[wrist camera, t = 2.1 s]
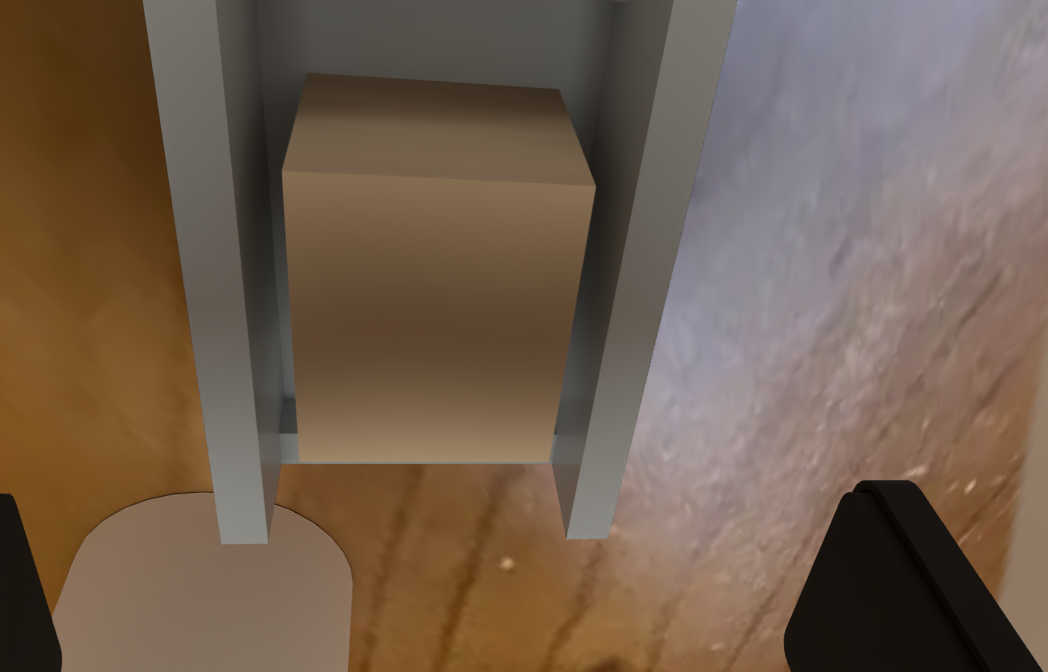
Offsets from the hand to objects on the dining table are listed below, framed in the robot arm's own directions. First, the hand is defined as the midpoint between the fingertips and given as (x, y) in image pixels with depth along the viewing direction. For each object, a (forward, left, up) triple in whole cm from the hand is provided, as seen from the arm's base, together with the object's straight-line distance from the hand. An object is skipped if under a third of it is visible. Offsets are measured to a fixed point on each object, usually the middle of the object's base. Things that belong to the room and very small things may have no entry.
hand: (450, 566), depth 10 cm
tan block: (-1, 0, -7) cm, 7 cm away
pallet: (-1, 0, -9) cm, 9 cm away
